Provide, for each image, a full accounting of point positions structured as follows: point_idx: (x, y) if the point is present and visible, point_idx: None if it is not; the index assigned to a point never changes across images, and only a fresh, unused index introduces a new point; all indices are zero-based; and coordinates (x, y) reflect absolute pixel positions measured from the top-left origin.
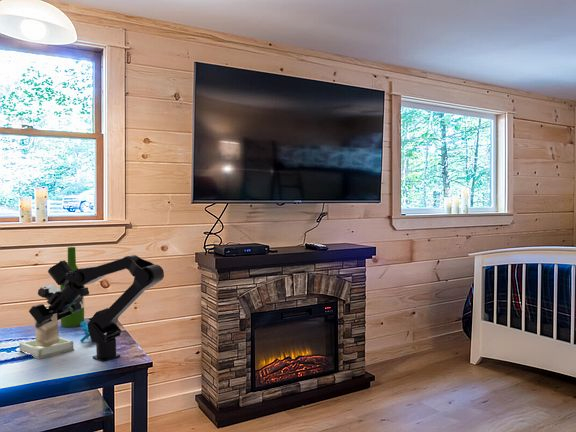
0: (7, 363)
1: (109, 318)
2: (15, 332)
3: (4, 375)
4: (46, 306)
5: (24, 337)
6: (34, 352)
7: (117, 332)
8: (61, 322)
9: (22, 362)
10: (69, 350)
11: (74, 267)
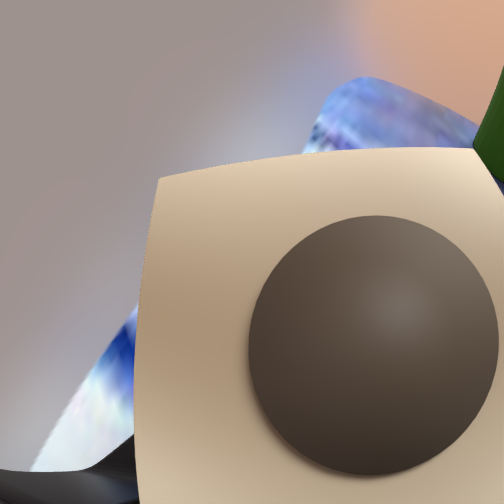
0: (100, 373)
1: None
2: (354, 95)
3: (37, 457)
4: (461, 292)
5: (352, 139)
6: None
7: None
8: (478, 138)
9: (130, 426)
10: None
11: None
